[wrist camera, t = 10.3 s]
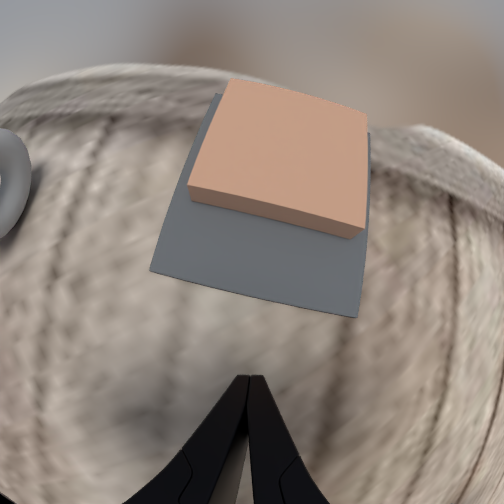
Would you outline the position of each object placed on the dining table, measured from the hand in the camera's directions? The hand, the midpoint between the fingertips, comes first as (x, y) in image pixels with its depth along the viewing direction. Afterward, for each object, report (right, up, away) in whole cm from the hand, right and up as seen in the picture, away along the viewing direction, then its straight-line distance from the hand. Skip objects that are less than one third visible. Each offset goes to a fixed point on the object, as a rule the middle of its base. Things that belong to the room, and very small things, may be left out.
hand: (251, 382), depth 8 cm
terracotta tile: (+2, +7, +10) cm, 12 cm away
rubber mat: (+2, +9, +13) cm, 16 cm away
